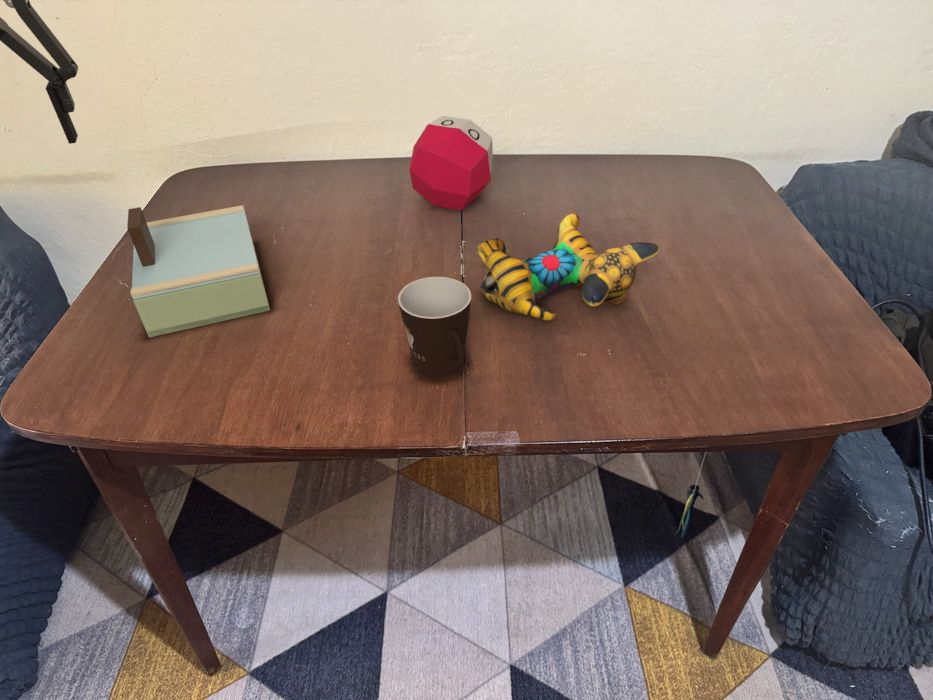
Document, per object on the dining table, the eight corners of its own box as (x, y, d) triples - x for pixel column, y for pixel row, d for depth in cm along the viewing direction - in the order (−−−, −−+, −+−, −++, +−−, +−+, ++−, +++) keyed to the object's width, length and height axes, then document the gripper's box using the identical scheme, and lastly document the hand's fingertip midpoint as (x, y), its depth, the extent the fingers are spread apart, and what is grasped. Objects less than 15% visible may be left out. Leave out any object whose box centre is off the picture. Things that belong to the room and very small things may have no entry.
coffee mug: (408, 340, 85) (402, 276, 78) (473, 340, 84) (472, 276, 78) (398, 401, 76) (389, 334, 69) (470, 402, 75) (469, 335, 69)
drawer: (133, 299, 83) (114, 255, 79) (135, 230, 97) (119, 190, 93) (260, 273, 87) (248, 229, 83) (244, 210, 102) (234, 171, 98)
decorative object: (398, 136, 102) (437, 87, 110) (391, 202, 115) (426, 154, 123) (483, 174, 101) (515, 122, 109) (466, 237, 114) (496, 185, 122)
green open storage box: (148, 337, 87) (133, 301, 83) (149, 264, 101) (136, 230, 98) (270, 310, 91) (260, 274, 87) (253, 243, 106) (244, 210, 102)
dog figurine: (479, 317, 95) (561, 371, 83) (459, 249, 87) (546, 298, 75) (576, 250, 102) (665, 292, 89) (565, 181, 94) (662, 216, 81)
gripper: (52, -82, 69) (125, 122, 83) (-209, -67, 63) (-82, 151, 77) (43, -75, 63) (124, 142, 77) (-244, -58, 57) (-100, 175, 71)
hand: (21, 147), depth 77 cm, fingers open, 11 cm apart
